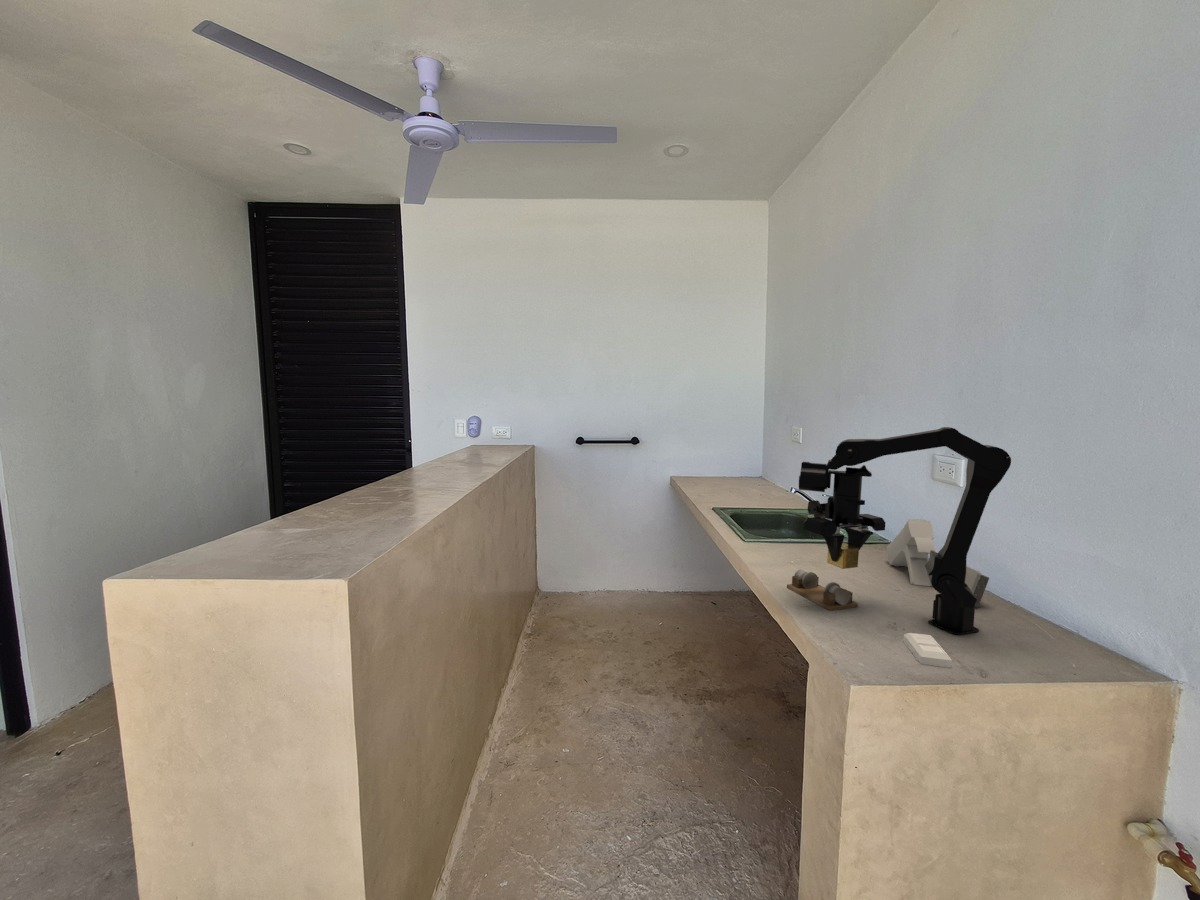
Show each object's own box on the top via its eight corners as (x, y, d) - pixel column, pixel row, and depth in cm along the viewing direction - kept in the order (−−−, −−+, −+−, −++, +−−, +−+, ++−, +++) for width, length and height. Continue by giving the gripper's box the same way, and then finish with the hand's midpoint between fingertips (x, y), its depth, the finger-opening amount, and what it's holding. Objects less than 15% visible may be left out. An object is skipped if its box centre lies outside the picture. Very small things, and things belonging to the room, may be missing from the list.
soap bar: (931, 646, 96) (932, 633, 95) (951, 670, 87) (952, 655, 87) (903, 643, 97) (904, 630, 97) (920, 666, 88) (921, 652, 88)
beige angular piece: (908, 548, 146) (932, 518, 130) (919, 601, 137) (945, 576, 121) (885, 546, 147) (906, 516, 131) (894, 599, 139) (917, 574, 123)
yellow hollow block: (859, 567, 110) (860, 548, 110) (843, 569, 109) (845, 550, 109) (840, 560, 115) (842, 542, 115) (825, 562, 114) (827, 543, 114)
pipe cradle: (857, 606, 114) (858, 586, 113) (829, 610, 111) (830, 589, 111) (812, 584, 128) (812, 566, 128) (786, 587, 126) (787, 569, 125)
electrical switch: (936, 594, 122) (942, 558, 121) (956, 596, 122) (963, 560, 121) (964, 609, 113) (971, 571, 112) (986, 612, 113) (993, 573, 112)
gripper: (850, 486, 121) (846, 547, 123) (789, 489, 115) (785, 553, 117) (889, 494, 111) (884, 561, 112) (824, 498, 105) (820, 568, 106)
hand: (842, 560), depth 112 cm, fingers closed on yellow hollow block, 4 cm apart
